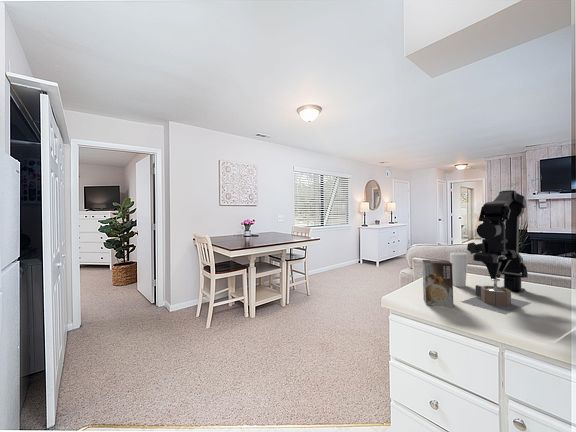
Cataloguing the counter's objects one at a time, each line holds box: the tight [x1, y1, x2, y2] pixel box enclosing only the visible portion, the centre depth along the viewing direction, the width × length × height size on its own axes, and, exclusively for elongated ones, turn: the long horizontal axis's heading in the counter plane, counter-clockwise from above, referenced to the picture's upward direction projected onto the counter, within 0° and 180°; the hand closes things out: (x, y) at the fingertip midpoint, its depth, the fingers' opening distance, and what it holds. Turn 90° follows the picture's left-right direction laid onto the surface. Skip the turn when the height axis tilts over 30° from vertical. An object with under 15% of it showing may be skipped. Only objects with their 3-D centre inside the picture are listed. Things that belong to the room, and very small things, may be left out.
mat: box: [460, 295, 531, 315], centre depth 97 cm, size 20×14×1 cm
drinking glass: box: [449, 251, 468, 288], centre depth 119 cm, size 7×7×15 cm
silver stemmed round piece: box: [487, 271, 505, 292], centre depth 97 cm, size 5×5×8 cm
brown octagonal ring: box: [475, 284, 512, 307], centre depth 98 cm, size 8×11×5 cm
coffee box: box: [422, 259, 454, 308], centre depth 98 cm, size 9×6×16 cm
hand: (495, 278), depth 97 cm, fingers closed on silver stemmed round piece, 3 cm apart
